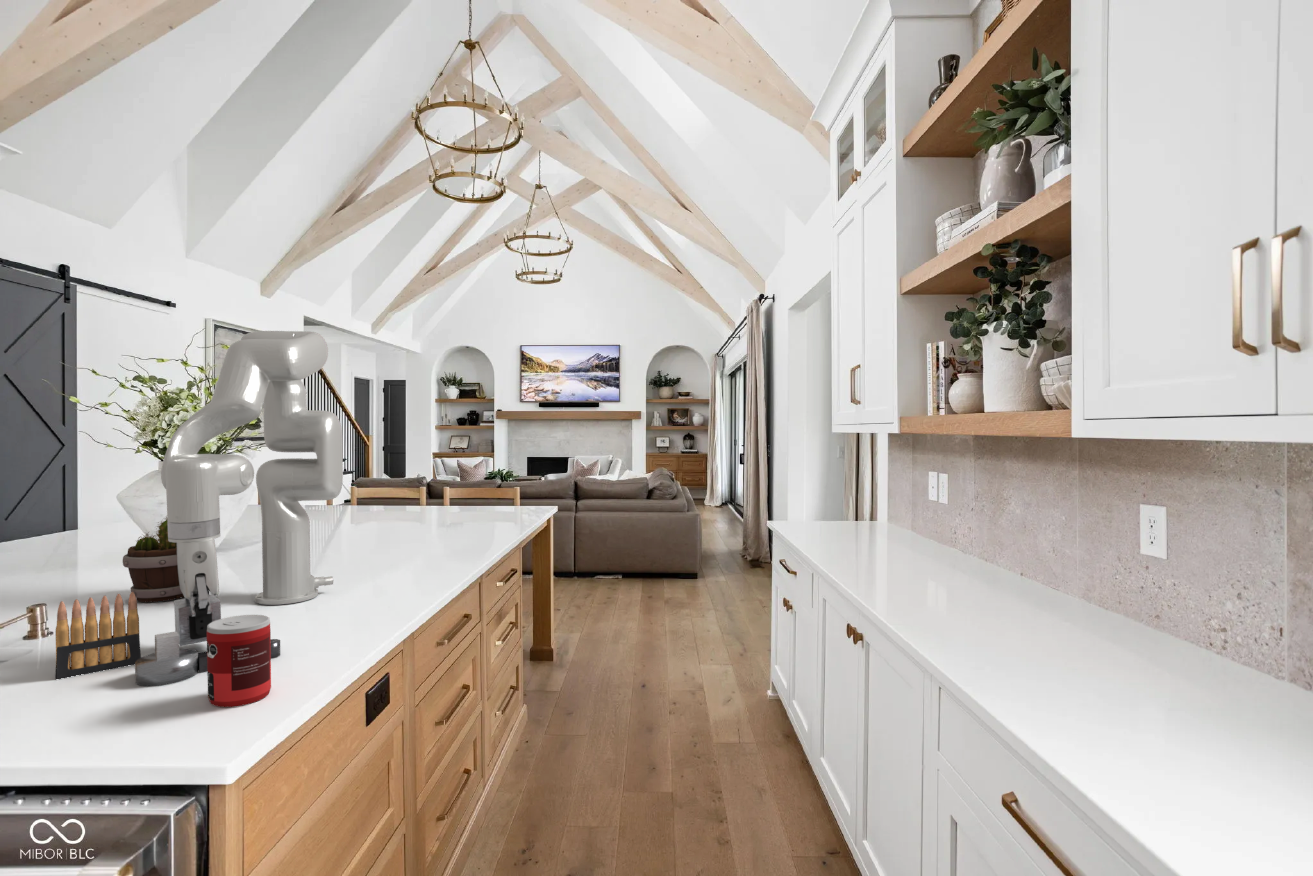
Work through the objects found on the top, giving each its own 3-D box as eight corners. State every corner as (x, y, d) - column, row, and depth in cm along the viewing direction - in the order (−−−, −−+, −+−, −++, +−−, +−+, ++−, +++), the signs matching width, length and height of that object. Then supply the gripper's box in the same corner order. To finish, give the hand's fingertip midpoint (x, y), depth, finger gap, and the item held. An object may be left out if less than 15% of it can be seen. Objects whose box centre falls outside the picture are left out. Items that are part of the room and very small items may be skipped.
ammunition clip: (55, 680, 106) (53, 603, 106) (55, 677, 107) (53, 601, 107) (141, 664, 113) (140, 591, 113) (140, 661, 115) (138, 589, 114)
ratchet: (274, 648, 121) (274, 611, 120) (285, 660, 114) (285, 621, 114) (133, 675, 108) (132, 634, 107) (137, 690, 102) (136, 646, 101)
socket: (215, 629, 124) (214, 590, 124) (221, 638, 119) (220, 598, 119) (175, 636, 120) (174, 597, 120) (180, 646, 116) (178, 604, 115)
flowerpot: (109, 600, 154) (107, 511, 154) (185, 586, 167) (184, 504, 167) (138, 609, 146) (137, 516, 146) (216, 594, 159) (214, 508, 159)
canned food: (225, 688, 102) (224, 615, 102) (281, 686, 103) (280, 613, 103) (195, 709, 95) (194, 630, 95) (256, 707, 95) (254, 628, 95)
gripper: (228, 534, 115) (232, 640, 116) (211, 520, 128) (215, 616, 129) (174, 540, 110) (178, 651, 111) (162, 525, 123) (166, 624, 124)
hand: (198, 631), depth 120 cm, fingers closed on socket, 6 cm apart
